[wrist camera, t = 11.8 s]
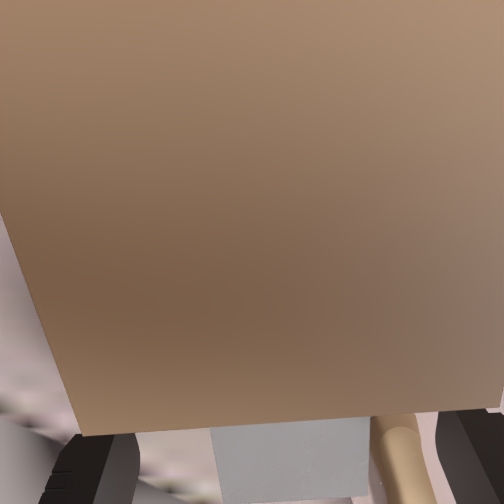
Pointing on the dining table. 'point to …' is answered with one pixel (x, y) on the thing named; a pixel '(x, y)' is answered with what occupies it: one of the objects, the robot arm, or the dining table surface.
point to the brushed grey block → (292, 460)
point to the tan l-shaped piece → (258, 205)
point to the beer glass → (405, 462)
